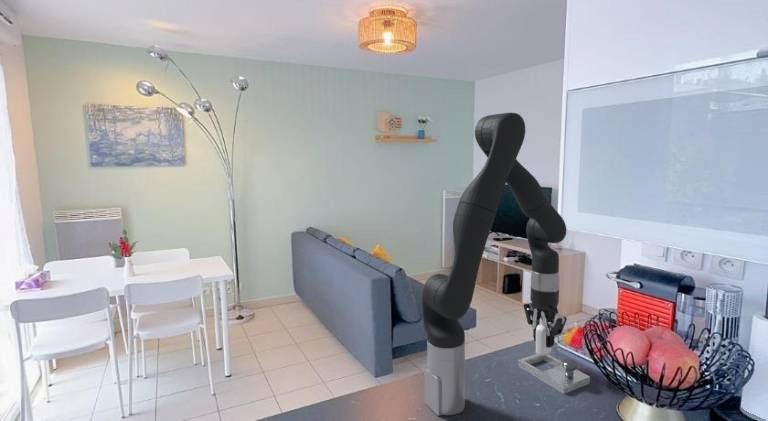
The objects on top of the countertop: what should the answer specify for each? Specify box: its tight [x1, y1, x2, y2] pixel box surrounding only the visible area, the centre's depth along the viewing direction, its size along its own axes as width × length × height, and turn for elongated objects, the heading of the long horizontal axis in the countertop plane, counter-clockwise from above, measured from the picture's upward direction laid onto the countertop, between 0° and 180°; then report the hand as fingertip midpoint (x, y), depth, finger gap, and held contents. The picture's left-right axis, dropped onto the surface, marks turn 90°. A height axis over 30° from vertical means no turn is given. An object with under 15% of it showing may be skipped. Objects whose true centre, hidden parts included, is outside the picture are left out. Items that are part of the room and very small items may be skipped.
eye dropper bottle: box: [535, 317, 552, 356], centre depth 116 cm, size 4×6×12 cm
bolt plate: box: [517, 353, 591, 395], centre depth 114 cm, size 10×16×6 cm, turn 26°
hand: (543, 343), depth 117 cm, fingers closed on eye dropper bottle, 3 cm apart
